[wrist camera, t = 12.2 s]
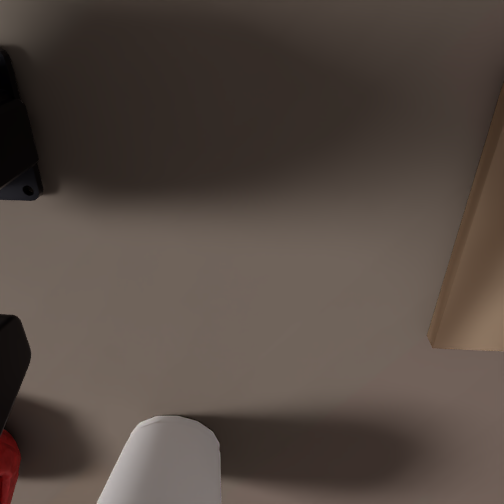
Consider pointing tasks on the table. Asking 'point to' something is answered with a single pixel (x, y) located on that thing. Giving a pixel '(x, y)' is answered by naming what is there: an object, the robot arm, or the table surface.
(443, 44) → the table surface
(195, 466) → the foam cup
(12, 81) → the robot arm
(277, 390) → the table surface
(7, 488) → the pomegranate
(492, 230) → the collar plate
